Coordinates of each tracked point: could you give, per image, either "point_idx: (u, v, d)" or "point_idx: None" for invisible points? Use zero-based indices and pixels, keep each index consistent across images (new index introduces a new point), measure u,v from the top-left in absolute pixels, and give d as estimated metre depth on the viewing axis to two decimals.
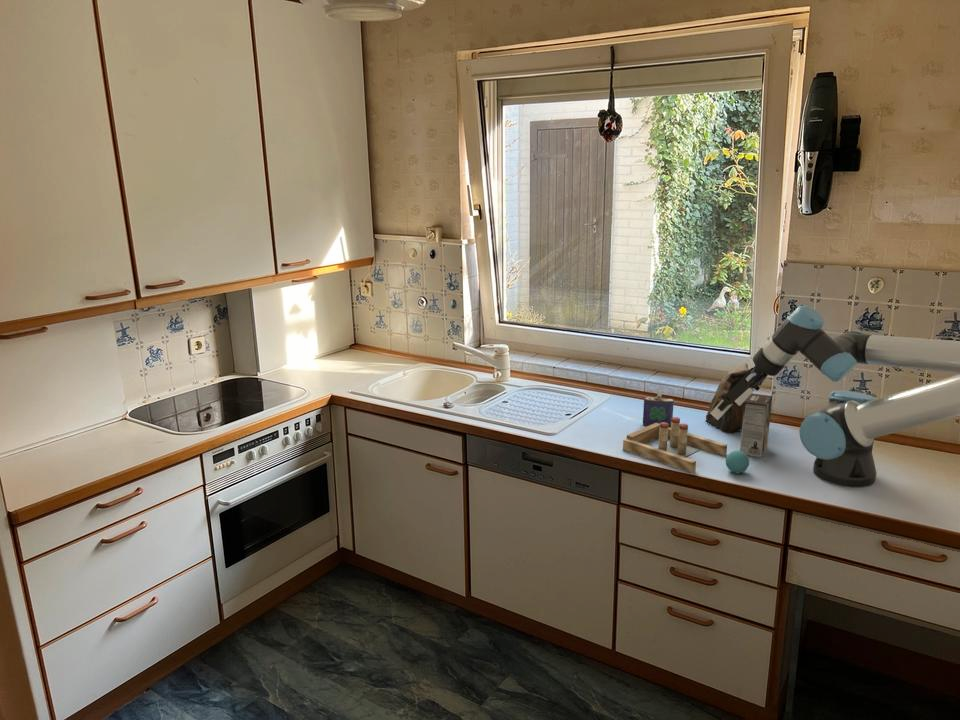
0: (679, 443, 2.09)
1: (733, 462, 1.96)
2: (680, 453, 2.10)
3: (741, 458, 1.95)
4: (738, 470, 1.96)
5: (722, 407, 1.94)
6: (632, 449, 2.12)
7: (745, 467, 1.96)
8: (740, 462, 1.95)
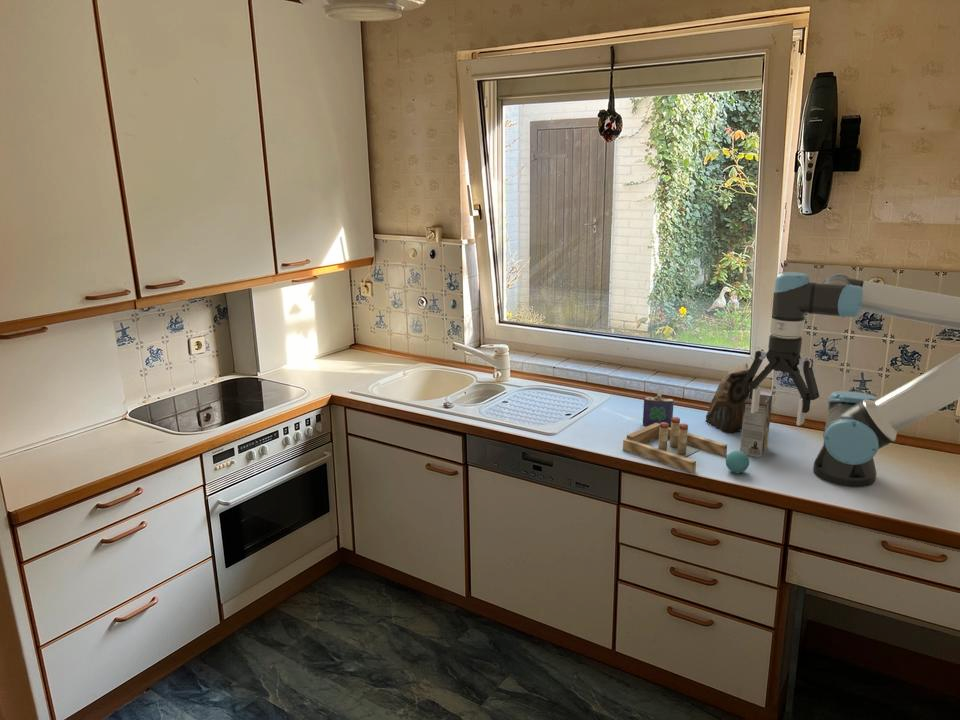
0: (679, 443, 2.09)
1: (733, 462, 1.96)
2: (680, 453, 2.10)
3: (741, 458, 1.95)
4: (738, 470, 1.96)
5: (808, 407, 1.81)
6: (632, 449, 2.12)
7: (745, 467, 1.96)
8: (740, 462, 1.95)
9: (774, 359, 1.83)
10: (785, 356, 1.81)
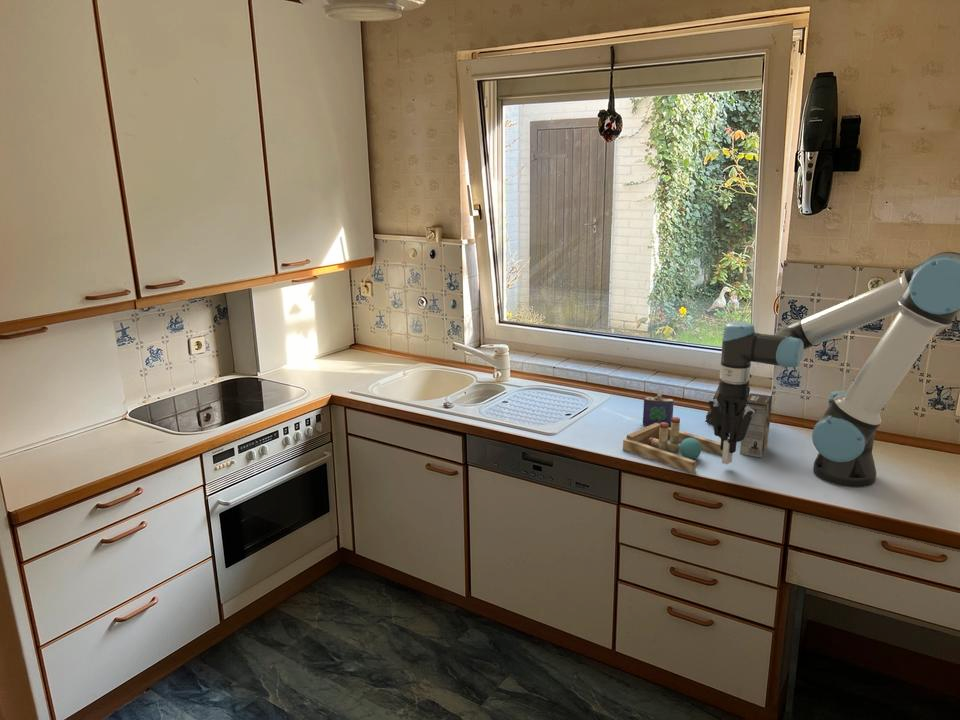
0: None
1: (686, 455, 2.05)
2: (673, 449, 2.11)
3: None
4: (681, 453, 2.07)
5: (735, 448, 1.98)
6: (632, 449, 2.12)
7: None
8: (688, 458, 2.06)
9: (723, 402, 1.95)
10: None
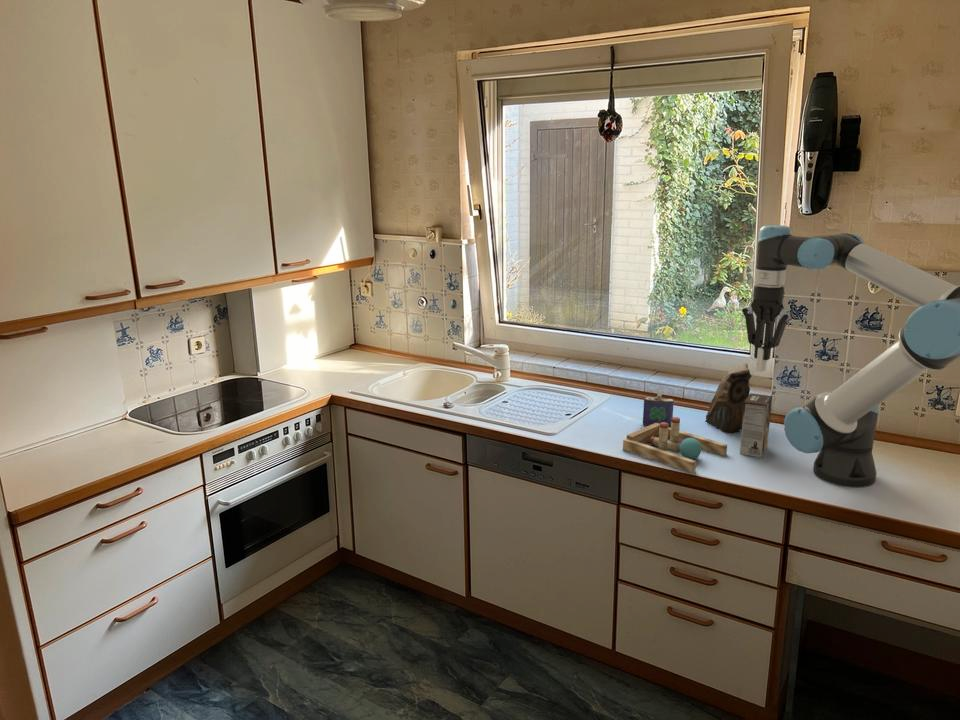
0: None
1: (686, 455, 2.05)
2: (675, 445, 2.12)
3: None
4: (681, 453, 2.07)
5: (769, 355, 1.97)
6: (632, 449, 2.12)
7: None
8: (688, 458, 2.06)
9: (758, 308, 1.94)
10: None
